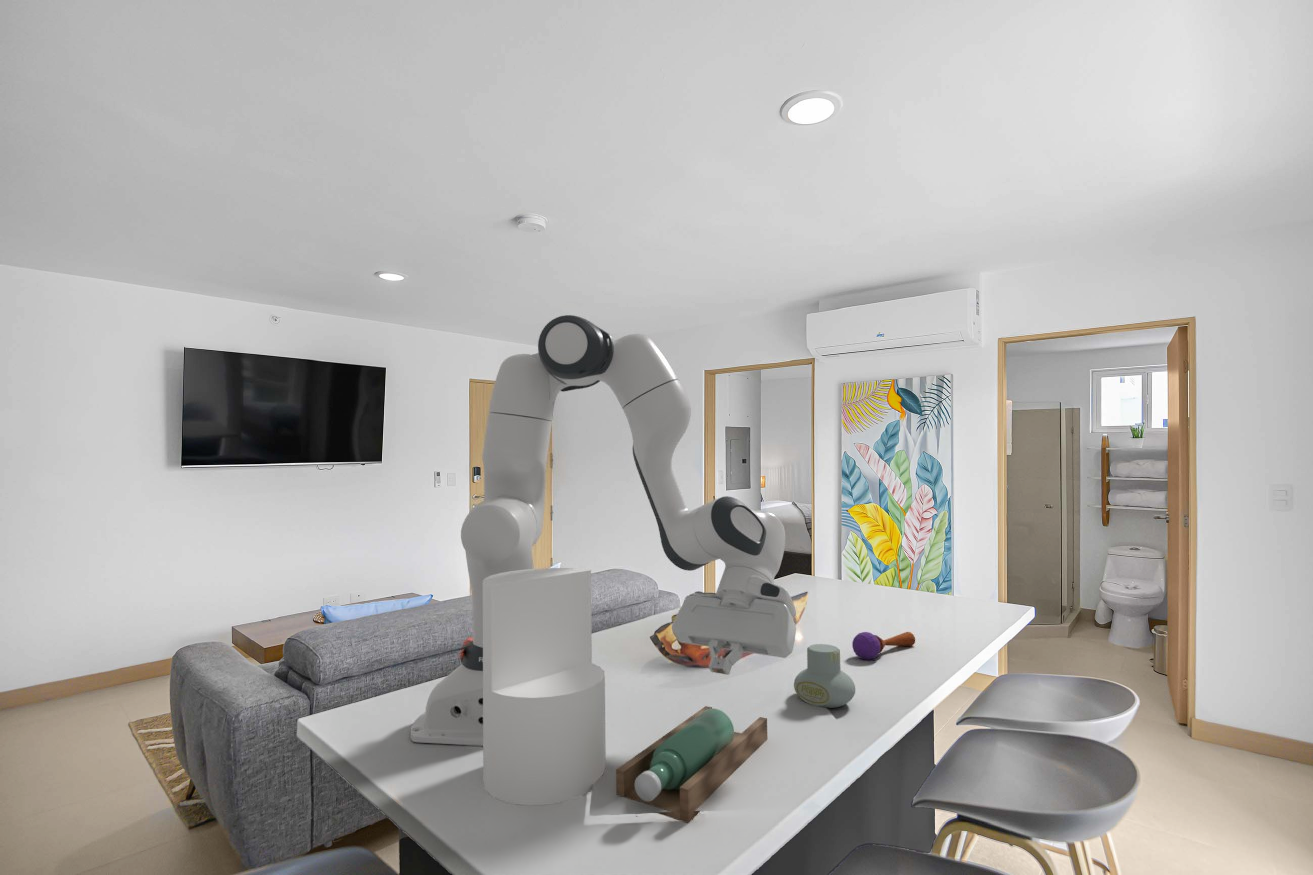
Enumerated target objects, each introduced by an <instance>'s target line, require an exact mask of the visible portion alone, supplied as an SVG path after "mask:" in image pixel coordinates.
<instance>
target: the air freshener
mask: <svg viewBox="0 0 1313 875" xmlns="http://www.w3.org/2000/svg"><path fill="white" fill-rule="evenodd" d="M806 648H807V649H806V653H807V654H806V656H807V657H806V658H807V659H806V660H807V662H806V664H807V666H806V667H807V668H805V669H803V670H801V671H800V672H798V674H797V675H796V676H795V678H794V682H793V687H794V691H795V693H796V695H797V697H799V698H800V699H801V700H802V701H803V702H804V703H807V704H809V705H812V706H816V707H821V708H822V707H825V708H826V709H835V708H840V707H842V706H845V705H846V704H848V703H849V702H850V701H852V699H853V698H854V697H855V694H856V684H855V682H854V681H853V679H852V678H851V677H850V675H848V674H847V673H846V672H844V671H843V670H841V650H840V649H839V648H838V646H835V645H832V644H827V643H826V644H823V643H821V644H820V643H819V644H818V643H817V644H816V643H815V644H812V645H809V646H808V647H806Z"/></svg>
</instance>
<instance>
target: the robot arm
mask: <svg viewBox="0 0 1313 875" xmlns="http://www.w3.org/2000/svg"><path fill="white" fill-rule="evenodd" d="M600 382H603V383H604V384H606V385H607V386H609V388H610V389H611V391H612V392H613V394H614V395H615V398H616V399H617V400H618V402H619V405H620V407H621V409H622V411H623V412H624V413H623V414H625V417H626V419H627V422H628V425H629V428H630V432H631V437H632V455H633V456H632V457H633V459H634V463H635V467H636V470H637V472H638V475H639V478H640V481H641V483H642V485H643V488H644V491H645V494H646V496H647V499H648V502H649V505H650V506H651V509H652V512H653V514H654V515H653V516H655V518H654V519H655V520H656V524H657V527H658V532H659V537H660V543H661V546H662V551H663V552H664V554H665V557H666V558H667V559H668V560H669V561H670V562H671V563H672V564H673V565H674V566H675V567H677V568H679V569H680V570H684V571H689V572H690V571H696V570H698V569H700V568H702V567H704V566H706V565H708V564H709V563H711V562H714V561H717V560H721V561H722V562H723V564H725V567H724V570H723V573H722V575H721V578H720V581H719V584H718V587H717V589H716V592H704V591H694V593H690V594H688V595H686V596H685V597H684V600H683V603H682V605H681V607H680V609H679V610H678V612H677V613H676V616H675V618H674V619H673V622H672V624H671V631H672V633H673V635H674V637H675V638H676V640H677V641H678V642H679V643H683V644H688V645H696V646H703V647H708V649H709V653H710V662H709V664H708V670H709V671H710V672H711V673H715V674H723V675H727V676H729V675H730V673H731V670H732V667H733V666H734V665H736V663H737V662H739V660H741V659H742V657H743V655H744V653H750V654H756V655H762V656H769V657H777V658H781V659H782V658H783V659H786V658H787V657H788V656H790V655H791V654H792V653H793V650H794V646H795V641H796V635H797V634H796V631H797V626H796V623H795V621H794V620H795V618H796V617H797V609H796V606H795V604H794V601H793V598H792V596H791V595H790V593H789V592H788V591H787V589H786V588H785V587H782V586H779V585H777V584H775V577H776V575H777V574H778V572H779V570H780V567H781V564H782V560H783V558H784V553H785V548H786V547H785V546H786V529H785V526H784V524H783V522H782V521H781V520H780V519H779V518H778V517H777V516H776V515H775V514H774V513H771V512H770V511H767V510H761V509H757V510H755V509H751V508H750V507H748V506H747V505H746V504H745V503H743V502H742V501H741V500H739V499H737V498H736V497H734V496H733V497H732V496H727V495H726V496H722V497H719V498H716V499H714V500H711V501H709V502H707V503H705V504H703V505H701V506H699V507H697V508H695V509H692V510H690V509H689V508H688V507H687V505H686V504H685V501H684V498H683V496H682V492H681V491H680V488H679V487H680V486H679V485H678V482H677V480H676V477H675V474H674V471H673V467H672V462H673V456H674V452H675V450H676V448H677V446H678V445H679V442H680V440H681V439H682V438H683V436H684V434H685V433H686V431H687V429H688V426H689V425H690V421H691V416H692V408H691V404H690V400H689V398H688V394H687V392H686V391H685V388H684V387H683V385H682V383H681V382H680V379H679V378H678V376H677V374H676V373H675V370H674V369H673V367H672V366H671V364H670V363H669V361H668V360H667V358H666V357H665V355H664V354H663V352H662V351H661V350H660V349H659V347H658V346H657V344H655V342H654V341H653V340H652V339H651V338H650V337H648V335H644V334H642V333H632V334H631V333H630V334H627V335H623V336H622V337H620V338H618V339H613V337H612V335H611V334H610V333H608V332H607V331H605V330H603V329H602V328H600V327H598V326H597V325H596V324H595V323H594V322H591V321H590V320H587V319H586V318H583V317H581V316H577V315H571V314H569V315H568V314H567V315H566V314H565V315H561V316H557V317H555V318H553V319H550V321H549V322H547V324H545V326H544V327H543V329H542V330H541V332H540V334H539V337H538V340H537V353H533V354H530V353H529V354H528V353H517V354H513V355H511V356H508V357H507V358H505V359H504V360H503V361H502V363H501V364H500V366H499V369H498V372H497V375H496V378H495V381H494V384H493V388H492V391H491V396H490V400H489V409H488V413H487V422H486V427H485V435H484V442H483V449H482V455H481V456H482V457H481V459H482V463H483V480H484V481H483V482H484V483H483V484H484V485H483V486H484V487H483V489H484V492H483V500H482V501H480V502H479V503H477V504H476V505H475V506H473V508H471V509H470V511H469V512H468V514H467V515H466V517H465V519H464V521H463V523H462V524H461V525H462V526H461V530H460V540H461V544H462V547H463V549H464V551H465V558H466V564H467V571H468V577H469V583H470V590H471V599H472V603H471V604H472V637H468V638H466V640H464V642H463V645H462V647H461V649H460V651H459V654H460V655H459V659H460V663H461V664H460V665H459V666H458V667H456V668H455V669H454V670H453V671H451V672H450V673H449V674H448V675H447V676H445V677H444V678H443V679H442V680H440V682H438V683H437V684H436V686H435V687H434V688H433V689H432V690H431V692H430V694H429V696H428V699H427V701H426V706H425V711H424V712H423V713H422V714H420V715H419V716H418V717H417V718H416V719H415V720H414V722H413V724H412V725H411V727H410V740H411V741H412V742H413V743H414V742H415V743H423V744H424V743H425V744H443V745H446V744H447V745H462V746H463V745H464V746H465V745H466V746H480V747H481V746H482V747H483V580H484V579H485V578H487V577H489V576H491V575H495V574H499V573H504V572H510V571H518V570H527V569H535V568H534V559H533V547H534V546H536V544H537V542H538V541H539V539H540V538H541V535H542V533H543V527H544V513H545V504H546V503H545V498H546V482H547V481H546V478H547V473H546V472H547V463H548V462H547V461H548V455H549V447H550V440H551V432H552V424H553V417H554V410H555V409H554V408H555V403H556V399H557V397H558V394H559V393H560V392H561V393H562V392H568V391H574V390H582V389H587V388H590V387H593V386H595V385H597V384H598V383H600ZM723 649H724V650H727V651H728V650H729V651H730V652H729V654H727V655H726V657H725V658H720V657H719V655H718V654H720V655H721V654H722V651H723Z"/></svg>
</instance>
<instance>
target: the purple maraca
mask: <svg viewBox="0 0 1313 875" xmlns="http://www.w3.org/2000/svg"><path fill="white" fill-rule="evenodd" d="M851 644H852V650H853V652H854V653H855V655H856V656H857V657H858V658H860V659H862V660H865V661H866V660H867V661H868V660H874V659H876V657H877V656H878V655H879V654H881V653H882V652H883V650H884V648H885V646H886V647H887V646H888V647H889V646H890V647H892V646H893V647H895V646H896V647H913V646H914V645H915V644H916V637H915V634H913V633H912V632H911V631H905V632H903V633H900V634H896V635H895V636H893V637H892V636H891V637H889V638H887V639H882V638H881V637H880V636H878V635H876V634H873V633H872V632H868V631H862V632H859V633H857V634H856V635H855V636H854V638H853V640H852V643H851ZM912 645H913V646H912Z"/></svg>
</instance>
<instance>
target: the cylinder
mask: <svg viewBox="0 0 1313 875" xmlns="http://www.w3.org/2000/svg"><path fill="white" fill-rule="evenodd" d="M592 632H593V630H592V570H591V569H583V568H574V567H572V568H569V567H565V568H564V567H563V568H562V567H551V568H550V567H549V568H548V567H546V568H545V567H544V568H543V567H542V568H534V569H527V570H518V571H510V572H504V573H499V574H495V575H491V576H489V577H487V578H485V579H484V580H483V746H482V747H483V749H482V753H483V754H482V755H483V756H482V759H483V760H482V764H483V767H482V769H483V771H482V775H483V776H482V777H483V778H482V780H483V781H482V782H483V786H484V791H486V792H487V793H488V794H489V795H490V796H491V797H493V798H495V799H497V800H499V801H501V802H504V803H509V804H513V805H522V806H544V805H553V804H555V805H556V804H559V803H563V802H568V801H572V800H573V799H574V800H575V799H576V798H580V797H582V796H584V795H586V794H587V793H589V792H591V791H592V790H593V786H594V785H593V784H595V783H596V782H597V781H598V780H600V778H602V776H603V775H604V772H605V771H606V768H607V761H606V760H607V759H606V756H607V754H606V750H607V749H606V748H607V747H606V674H605V670H604V669H603V668H602V667H601V666H599V665H597V664H594V663H593V660H592V658H593V657H592V656H593V653H592V652H593V648H592V647H593V644H592V643H593V642H592V641H593V640H592V639H593V638H592V635H593V634H592Z"/></svg>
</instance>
